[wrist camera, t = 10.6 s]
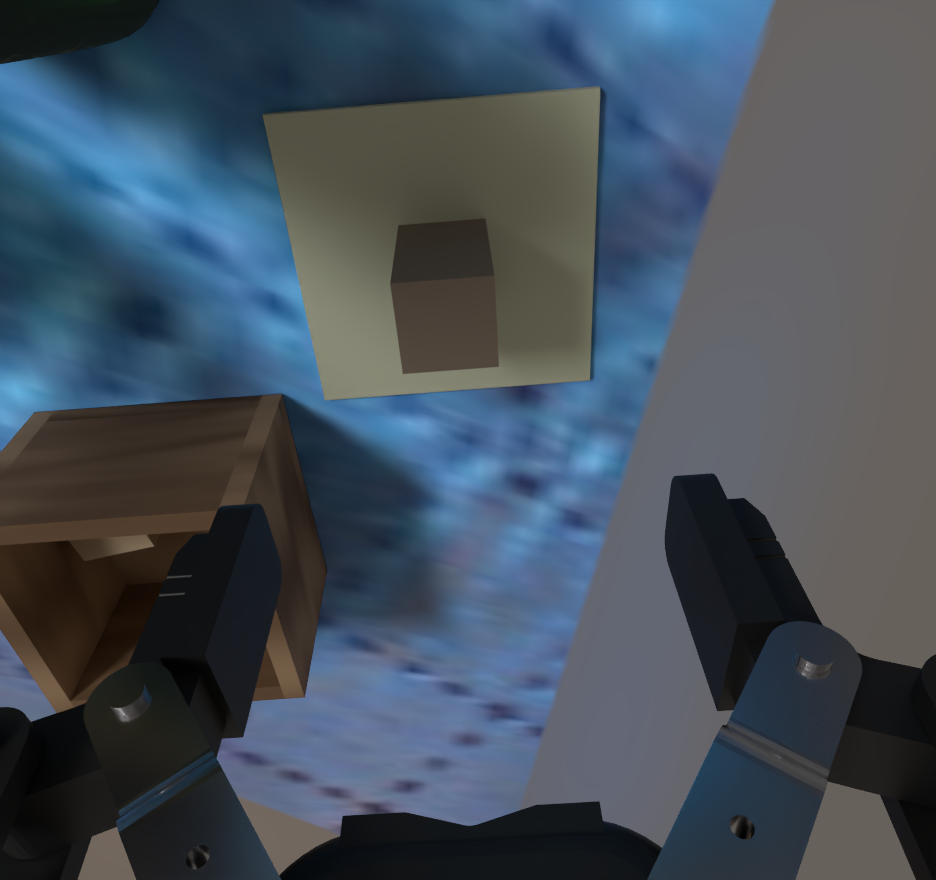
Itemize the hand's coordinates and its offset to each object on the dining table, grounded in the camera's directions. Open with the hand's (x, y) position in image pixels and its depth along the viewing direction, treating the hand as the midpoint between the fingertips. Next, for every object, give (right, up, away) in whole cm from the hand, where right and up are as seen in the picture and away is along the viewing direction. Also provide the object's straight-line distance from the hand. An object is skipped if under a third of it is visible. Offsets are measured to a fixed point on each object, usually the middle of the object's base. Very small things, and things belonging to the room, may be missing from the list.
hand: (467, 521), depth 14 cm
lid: (-1, +8, +12) cm, 15 cm away
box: (-12, -1, +17) cm, 21 cm away
